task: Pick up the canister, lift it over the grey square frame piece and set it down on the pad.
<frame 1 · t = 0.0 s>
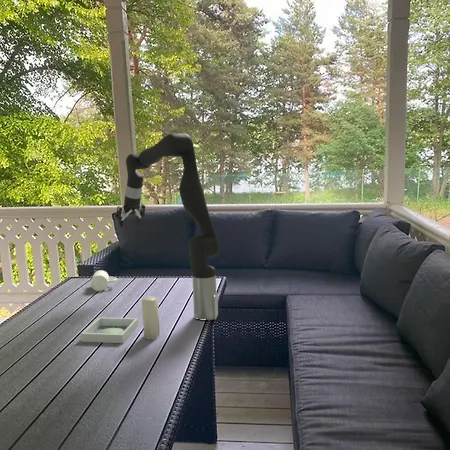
hand: (129, 225, 214), 31 cm above the table, tool tilted 20°, fingers open, 8 cm apart
canister: (151, 336, 160), on the table
mug: (104, 288, 221), on the table
pad: (110, 333, 163), resting in grey square frame piece
grey square frame piece: (110, 333, 163), on the table
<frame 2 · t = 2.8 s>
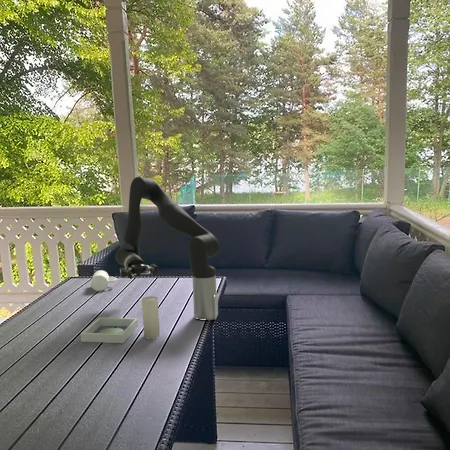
hand: (142, 275, 167), 20 cm above the table, tool horizontal, fingers open, 8 cm apart
nothing on the table moved.
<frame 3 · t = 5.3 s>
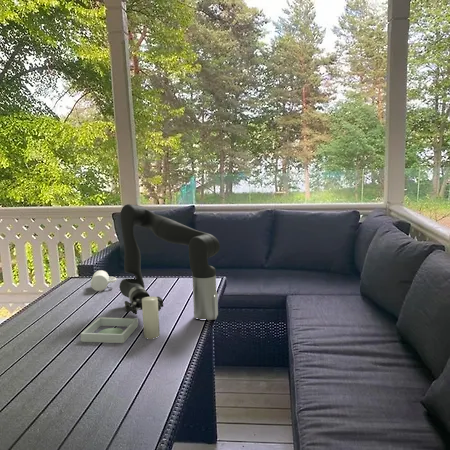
hand: (147, 310, 163), 8 cm above the table, tool horizontal, fingers open, 8 cm apart
nothing on the table moved.
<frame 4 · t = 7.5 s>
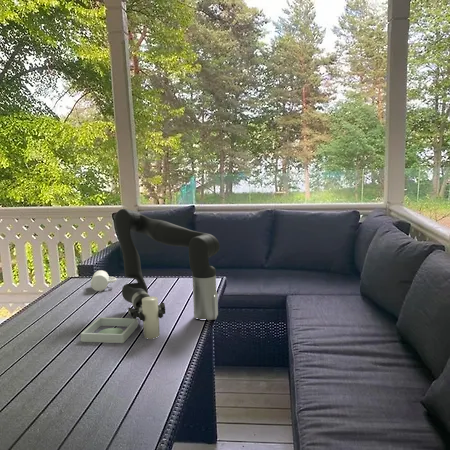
hand: (152, 317, 156), 8 cm above the table, tool horizontal, fingers closed on canister, 5 cm apart
canister: (151, 336, 160), on the table, touching gripper
everything else where it was.
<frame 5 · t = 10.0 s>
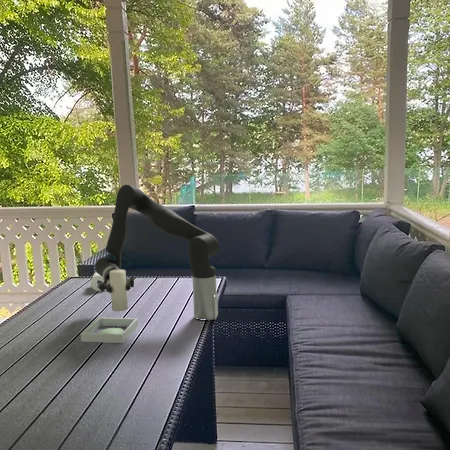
hand: (119, 289, 157), 18 cm above the table, tool horizontal, fingers closed on canister, 5 cm apart
canister: (119, 308, 161), point 10 cm above the table, touching gripper
everything else where it was.
when the fingers open (10 cm above the table, at t = 12.8 s): canister drops 1 cm, resting on pad.
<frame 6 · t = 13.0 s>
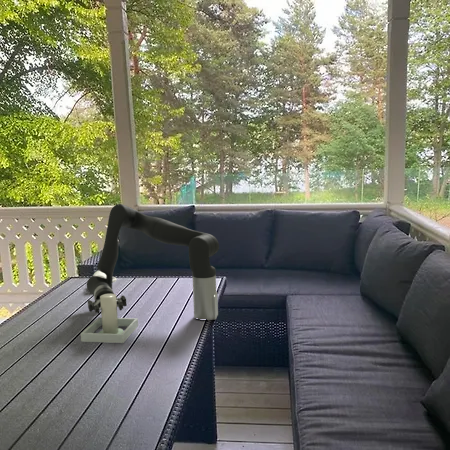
hand: (109, 309, 160), 10 cm above the table, tool horizontal, fingers open, 7 cm apart
canister: (110, 332, 163), resting on pad
everything else where it was.
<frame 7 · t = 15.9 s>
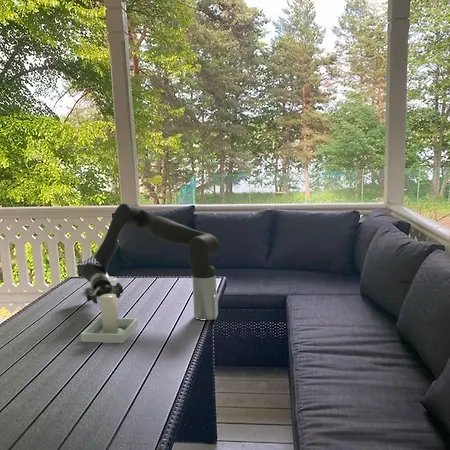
hand: (107, 298, 172), 10 cm above the table, tool horizontal, fingers open, 8 cm apart
nothing on the table moved.
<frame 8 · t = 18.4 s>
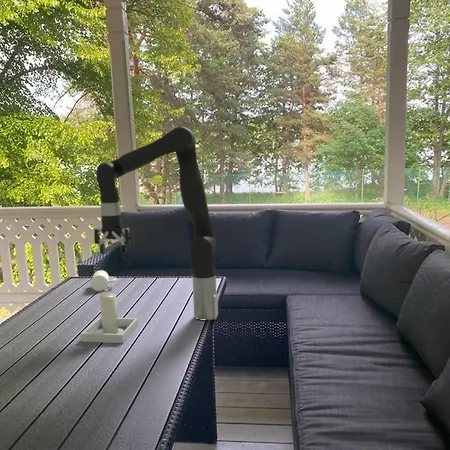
hand: (113, 254, 176), 26 cm above the table, tool pointing down, fingers open, 8 cm apart
nothing on the table moved.
at the end: canister inside the target area on the pad (0.1 cm from its centre), point 0.4 cm above the pad's base; canister tilted 0°; the gripper is holding nothing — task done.
